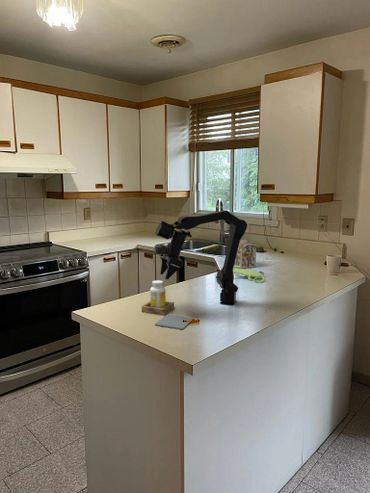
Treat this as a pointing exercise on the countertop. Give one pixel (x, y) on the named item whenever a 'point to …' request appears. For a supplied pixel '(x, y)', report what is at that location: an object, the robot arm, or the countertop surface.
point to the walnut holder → (159, 311)
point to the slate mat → (173, 322)
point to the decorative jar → (246, 255)
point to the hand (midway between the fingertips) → (163, 276)
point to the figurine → (249, 273)
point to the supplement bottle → (157, 295)
